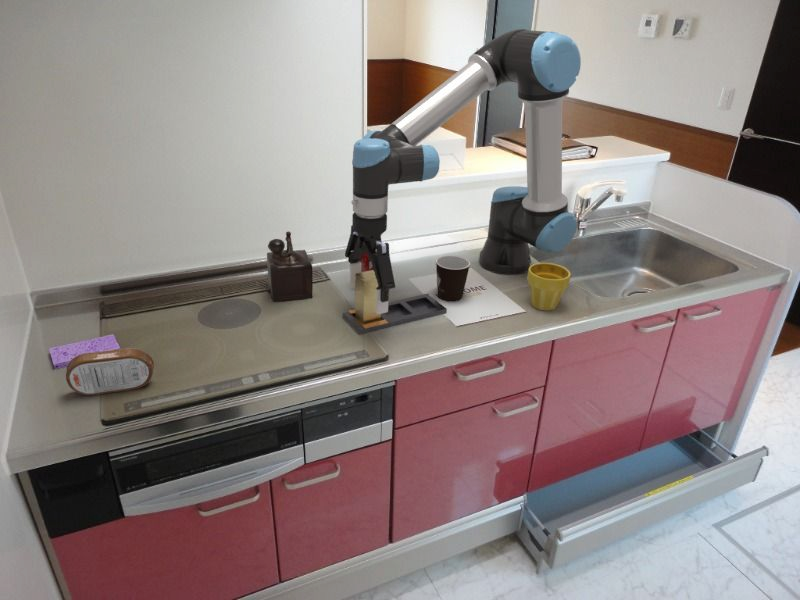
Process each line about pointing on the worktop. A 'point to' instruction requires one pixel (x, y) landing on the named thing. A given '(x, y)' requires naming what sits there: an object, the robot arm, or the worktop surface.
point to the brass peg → (366, 297)
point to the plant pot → (547, 284)
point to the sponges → (81, 349)
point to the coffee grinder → (288, 272)
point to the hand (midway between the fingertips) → (368, 300)
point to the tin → (109, 371)
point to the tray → (399, 313)
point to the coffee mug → (451, 277)
